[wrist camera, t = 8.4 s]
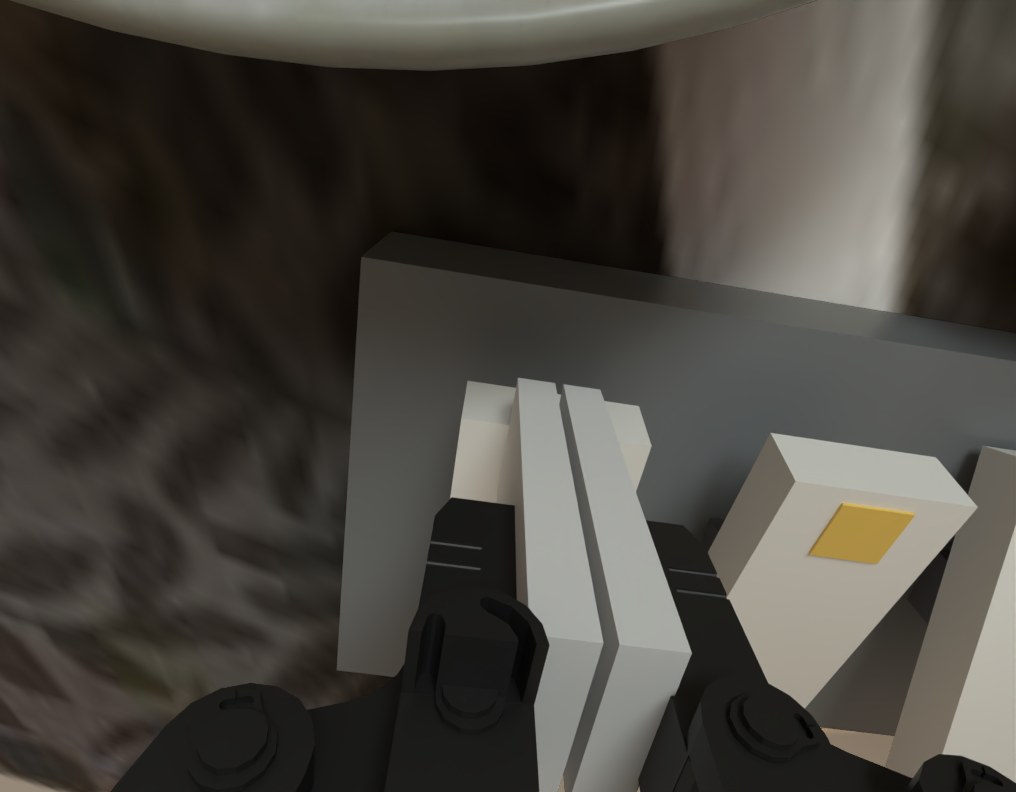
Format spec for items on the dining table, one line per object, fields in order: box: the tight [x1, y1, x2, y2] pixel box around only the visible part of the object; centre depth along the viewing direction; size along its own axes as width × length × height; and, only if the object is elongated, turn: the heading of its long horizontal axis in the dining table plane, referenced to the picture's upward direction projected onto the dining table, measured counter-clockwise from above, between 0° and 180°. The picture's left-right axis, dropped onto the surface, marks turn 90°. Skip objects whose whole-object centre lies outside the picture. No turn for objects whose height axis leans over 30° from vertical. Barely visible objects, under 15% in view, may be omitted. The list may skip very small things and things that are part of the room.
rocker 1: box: [450, 381, 652, 503], centre depth 16 cm, size 10×4×2 cm, turn 171°
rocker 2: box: [708, 433, 978, 709], centre depth 16 cm, size 10×4×2 cm, turn 171°
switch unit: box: [337, 231, 1016, 736], centre depth 19 cm, size 14×24×5 cm, turn 81°
